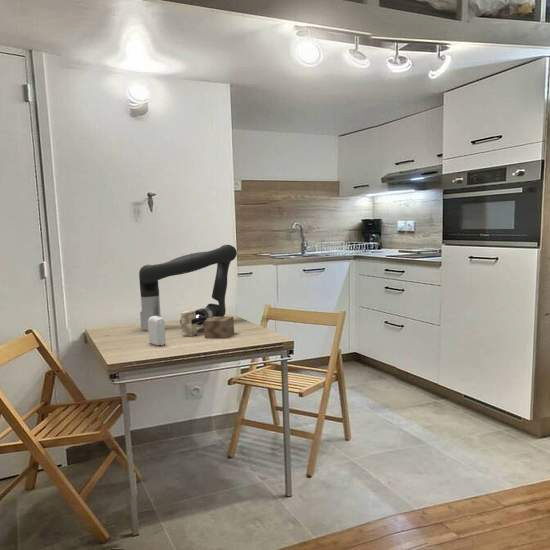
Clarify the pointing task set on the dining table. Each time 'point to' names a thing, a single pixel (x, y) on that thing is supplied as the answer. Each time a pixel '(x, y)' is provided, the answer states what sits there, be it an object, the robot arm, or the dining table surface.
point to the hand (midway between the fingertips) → (186, 322)
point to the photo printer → (156, 330)
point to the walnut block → (218, 327)
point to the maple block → (188, 323)
